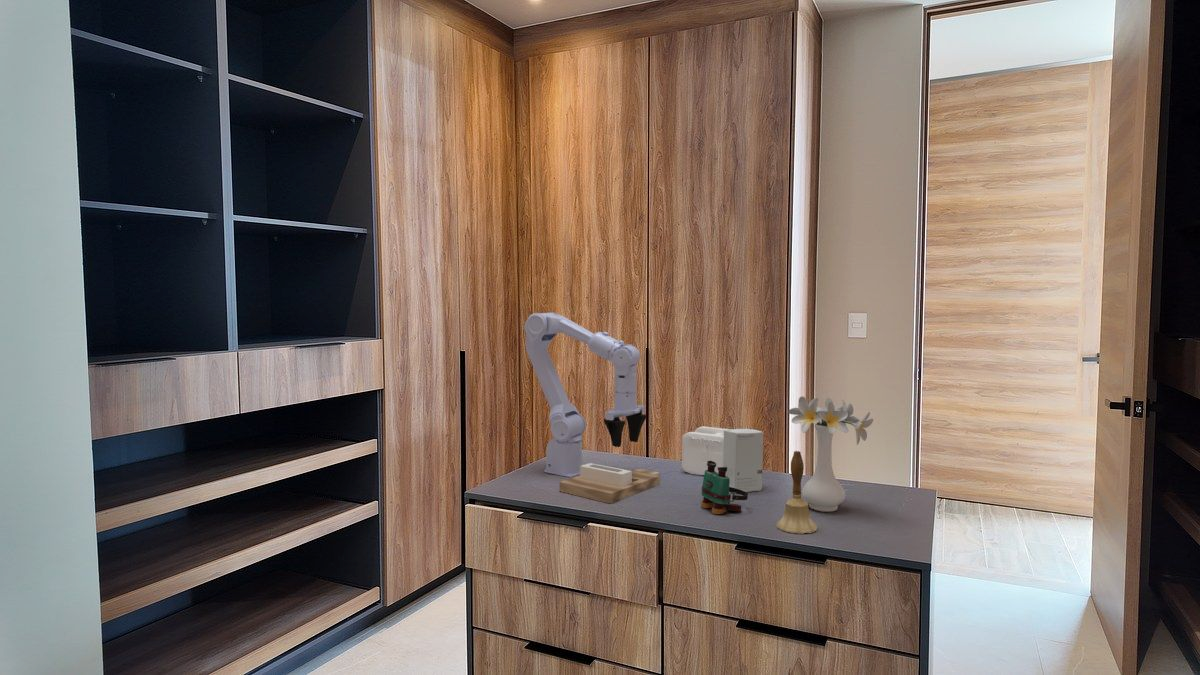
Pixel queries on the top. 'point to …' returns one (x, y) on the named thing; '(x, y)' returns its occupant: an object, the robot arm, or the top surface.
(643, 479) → the keyhole board
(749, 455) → the skincare box
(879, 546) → the top surface
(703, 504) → the binoculars
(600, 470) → the white rectangular block
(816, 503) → the flower vase
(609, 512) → the top surface
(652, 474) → the block
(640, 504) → the top surface
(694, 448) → the white rounded box
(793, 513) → the hand bell
